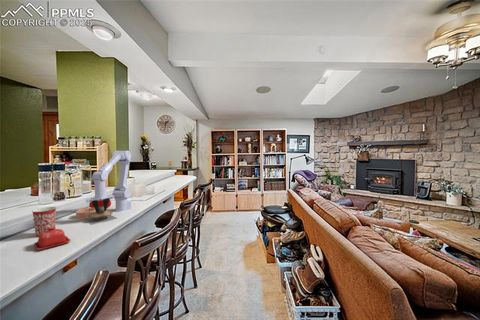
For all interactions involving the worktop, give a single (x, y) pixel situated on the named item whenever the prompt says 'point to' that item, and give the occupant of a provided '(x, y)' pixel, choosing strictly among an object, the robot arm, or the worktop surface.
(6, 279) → the worktop surface
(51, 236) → the butter dish
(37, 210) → the mug
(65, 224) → the worktop surface
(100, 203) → the tomato
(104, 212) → the lid
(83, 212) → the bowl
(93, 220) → the mat
